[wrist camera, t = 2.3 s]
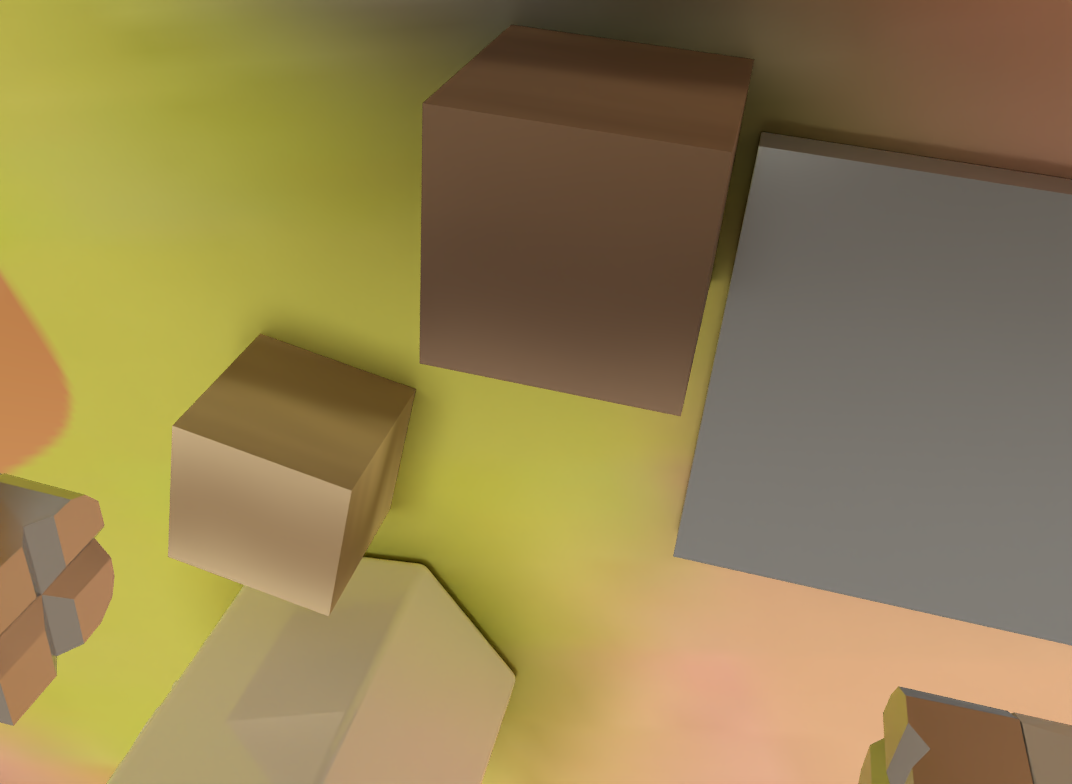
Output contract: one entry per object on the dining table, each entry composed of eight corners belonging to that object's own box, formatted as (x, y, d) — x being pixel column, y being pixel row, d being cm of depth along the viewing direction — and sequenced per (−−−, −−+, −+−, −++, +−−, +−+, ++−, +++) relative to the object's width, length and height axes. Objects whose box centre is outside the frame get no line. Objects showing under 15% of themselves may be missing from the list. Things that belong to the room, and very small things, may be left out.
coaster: (761, 131, 18) (759, 146, 18) (1356, 223, 17) (1377, 242, 16) (677, 534, 24) (673, 556, 23) (1116, 631, 22) (1125, 657, 22)
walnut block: (512, 24, 18) (423, 102, 14) (754, 59, 18) (732, 152, 14) (499, 243, 21) (419, 363, 17) (710, 281, 20) (680, 416, 16)
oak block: (261, 332, 24) (172, 425, 21) (417, 387, 24) (351, 490, 20) (250, 455, 26) (168, 556, 23) (391, 506, 26) (328, 616, 23)
